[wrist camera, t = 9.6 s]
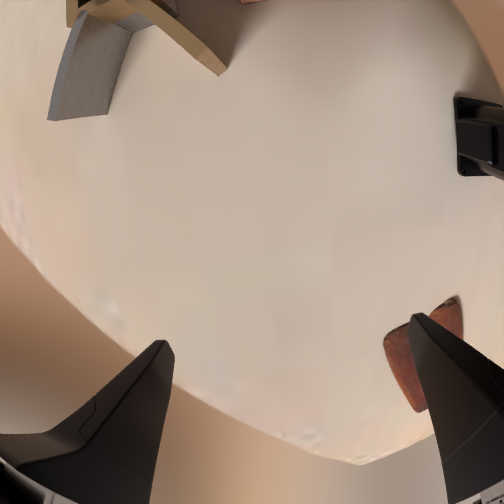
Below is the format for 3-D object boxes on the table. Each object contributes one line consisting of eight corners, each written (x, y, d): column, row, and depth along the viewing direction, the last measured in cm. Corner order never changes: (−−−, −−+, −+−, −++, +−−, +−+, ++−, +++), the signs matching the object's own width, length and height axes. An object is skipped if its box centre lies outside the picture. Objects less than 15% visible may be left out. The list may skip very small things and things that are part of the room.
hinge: (202, -41, 10) (180, -80, 5) (228, 73, 15) (209, 54, 10) (85, 9, 11) (40, -6, 6) (100, 117, 16) (48, 125, 11)
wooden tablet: (375, 334, 25) (379, 345, 24) (454, 288, 22) (461, 298, 21) (410, 414, 35) (412, 421, 34) (458, 388, 32) (461, 395, 30)
